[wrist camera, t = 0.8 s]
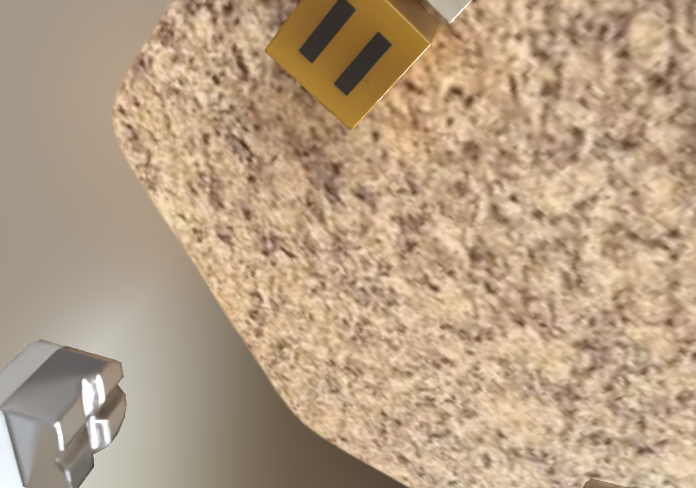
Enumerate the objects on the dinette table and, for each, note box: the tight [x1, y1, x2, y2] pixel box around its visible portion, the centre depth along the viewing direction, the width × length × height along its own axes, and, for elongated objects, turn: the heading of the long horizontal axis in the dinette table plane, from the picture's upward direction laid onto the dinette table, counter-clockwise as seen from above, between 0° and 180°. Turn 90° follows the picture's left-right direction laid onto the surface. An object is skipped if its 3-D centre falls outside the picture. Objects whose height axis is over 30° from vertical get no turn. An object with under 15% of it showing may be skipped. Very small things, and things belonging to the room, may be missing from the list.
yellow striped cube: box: [265, 0, 440, 130], centre depth 23 cm, size 5×5×5 cm
